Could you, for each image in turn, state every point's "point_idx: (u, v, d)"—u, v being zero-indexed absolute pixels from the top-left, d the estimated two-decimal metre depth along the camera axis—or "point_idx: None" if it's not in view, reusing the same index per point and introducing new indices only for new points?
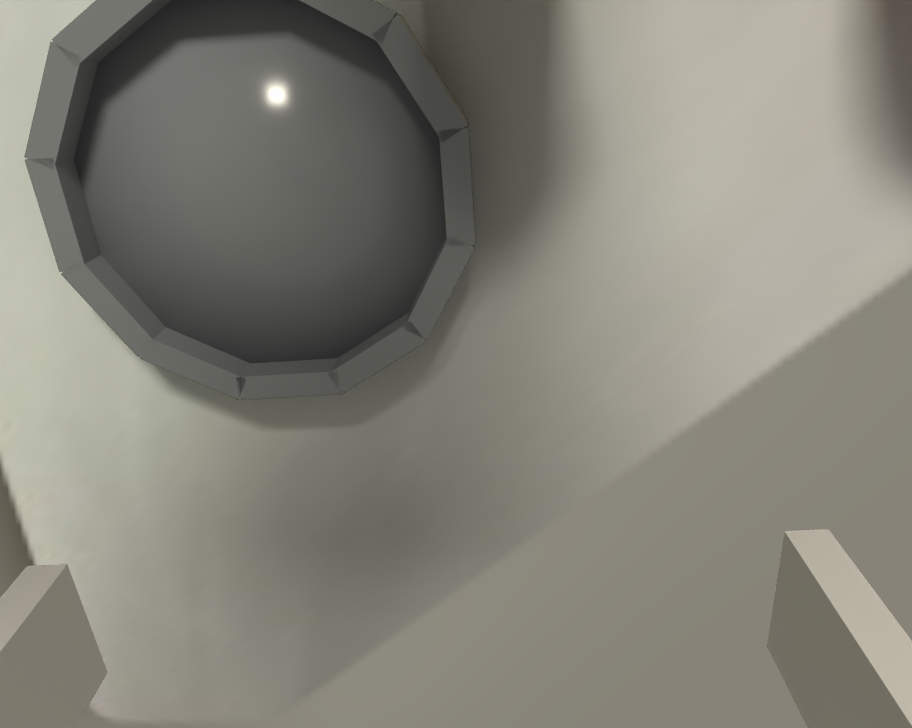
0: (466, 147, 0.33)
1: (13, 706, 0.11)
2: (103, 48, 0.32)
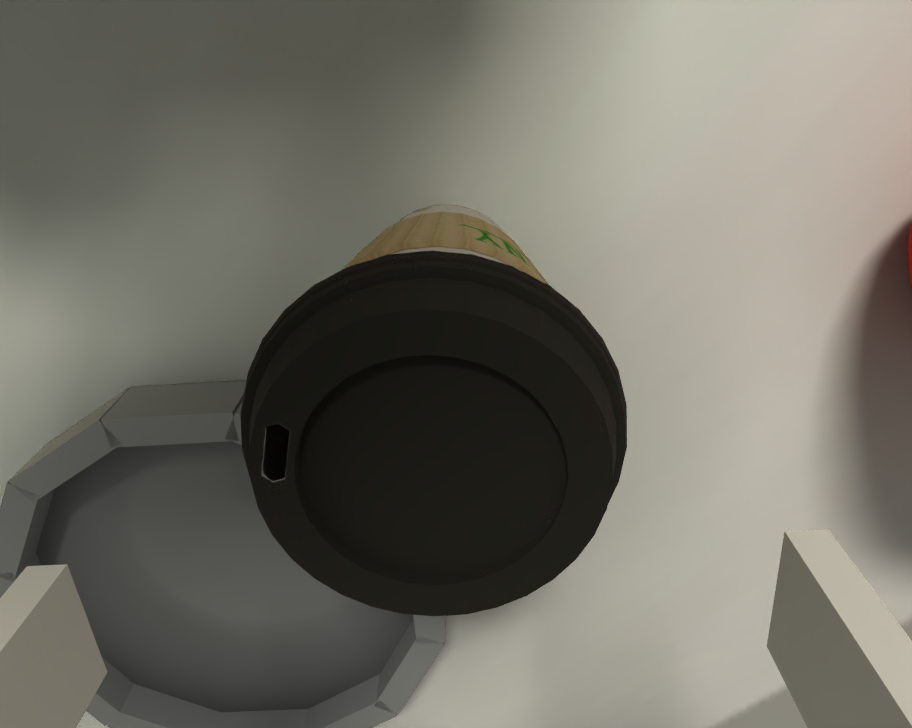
0: None
1: (13, 706, 0.11)
2: None
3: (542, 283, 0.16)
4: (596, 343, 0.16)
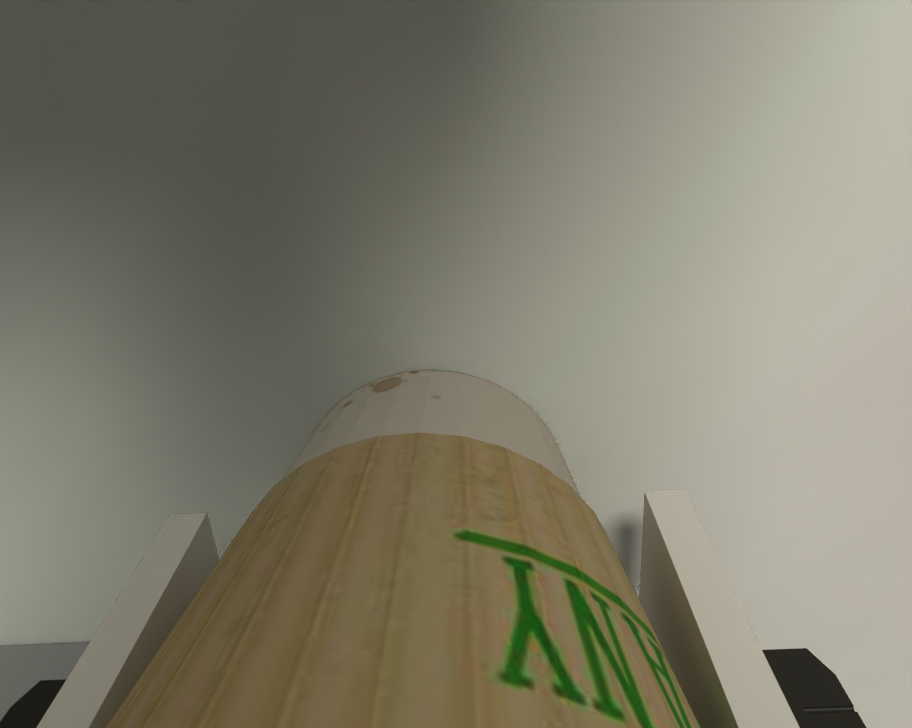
0: None
1: None
2: None
3: None
4: None
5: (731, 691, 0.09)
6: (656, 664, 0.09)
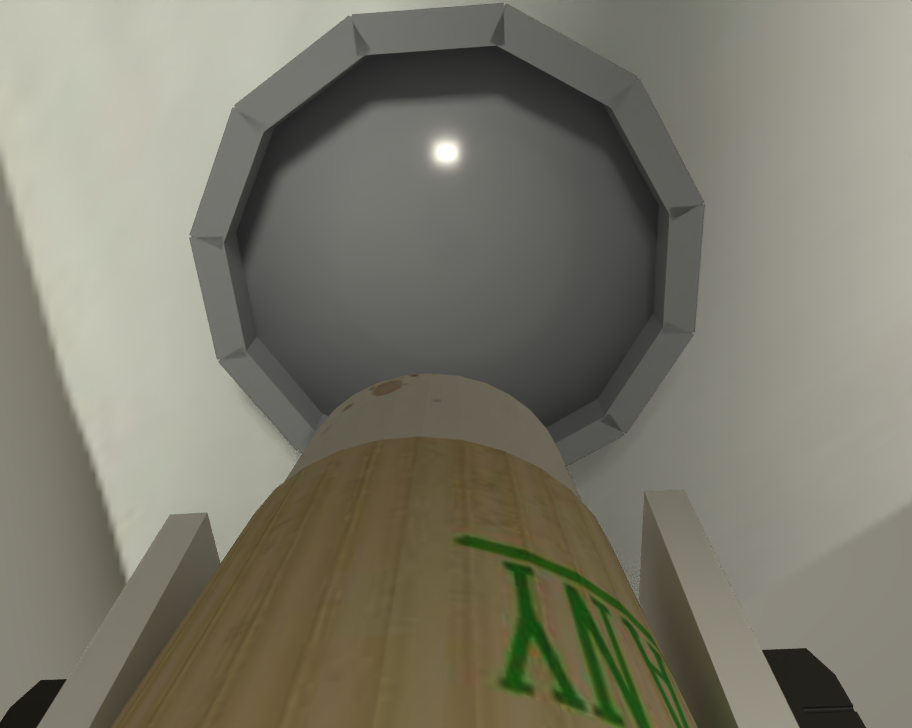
0: (699, 226, 0.29)
1: None
2: (288, 113, 0.28)
3: None
4: None
5: (731, 691, 0.09)
6: (656, 669, 0.09)
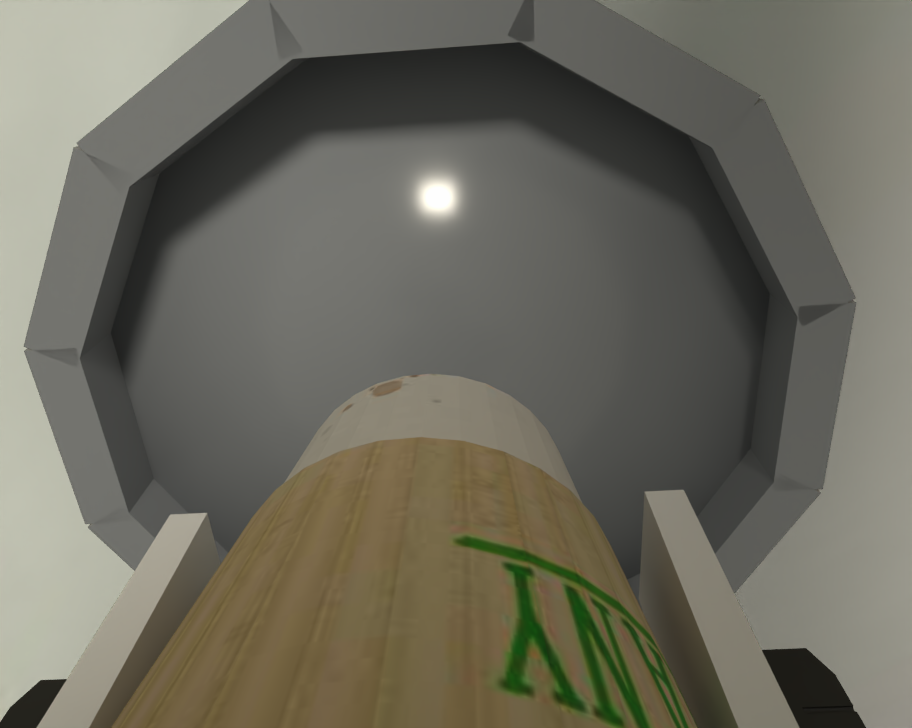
0: (844, 335, 0.18)
1: None
2: (173, 155, 0.17)
3: None
4: None
5: (731, 691, 0.09)
6: (656, 670, 0.09)
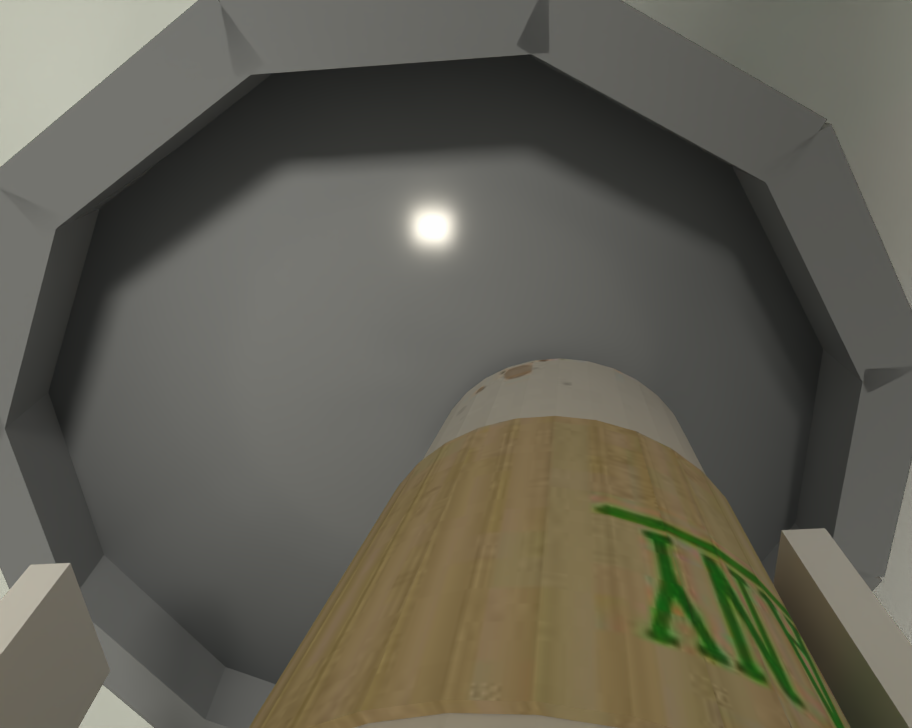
0: None
1: (17, 704, 0.11)
2: (111, 190, 0.14)
3: None
4: None
5: None
6: (794, 640, 0.09)
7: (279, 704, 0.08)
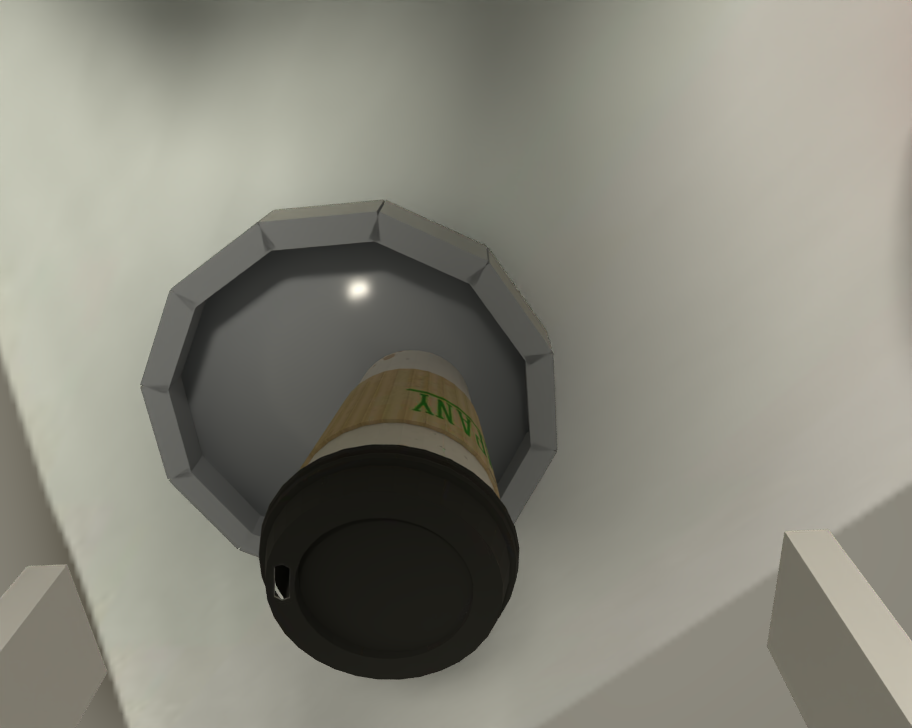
0: (550, 369, 0.36)
1: (13, 706, 0.11)
2: None
3: (446, 458, 0.25)
4: (485, 495, 0.25)
5: None
6: (464, 420, 0.31)
7: (317, 443, 0.29)
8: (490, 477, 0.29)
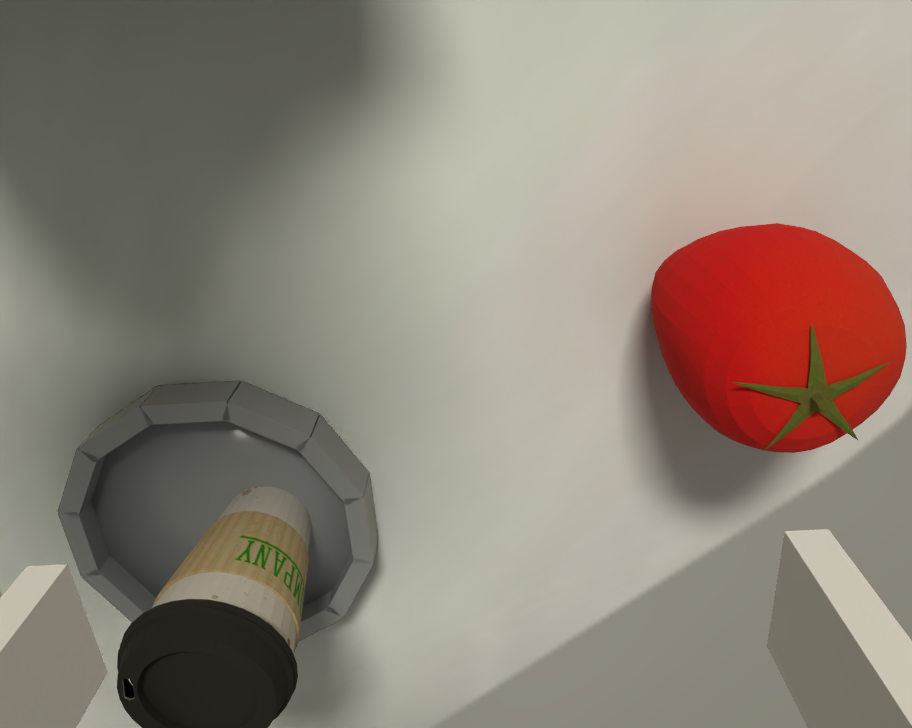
0: (363, 508, 0.48)
1: (13, 706, 0.11)
2: None
3: (240, 608, 0.37)
4: (265, 633, 0.37)
5: None
6: (279, 560, 0.43)
7: (169, 580, 0.41)
8: (288, 607, 0.41)
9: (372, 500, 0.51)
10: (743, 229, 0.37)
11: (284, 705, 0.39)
